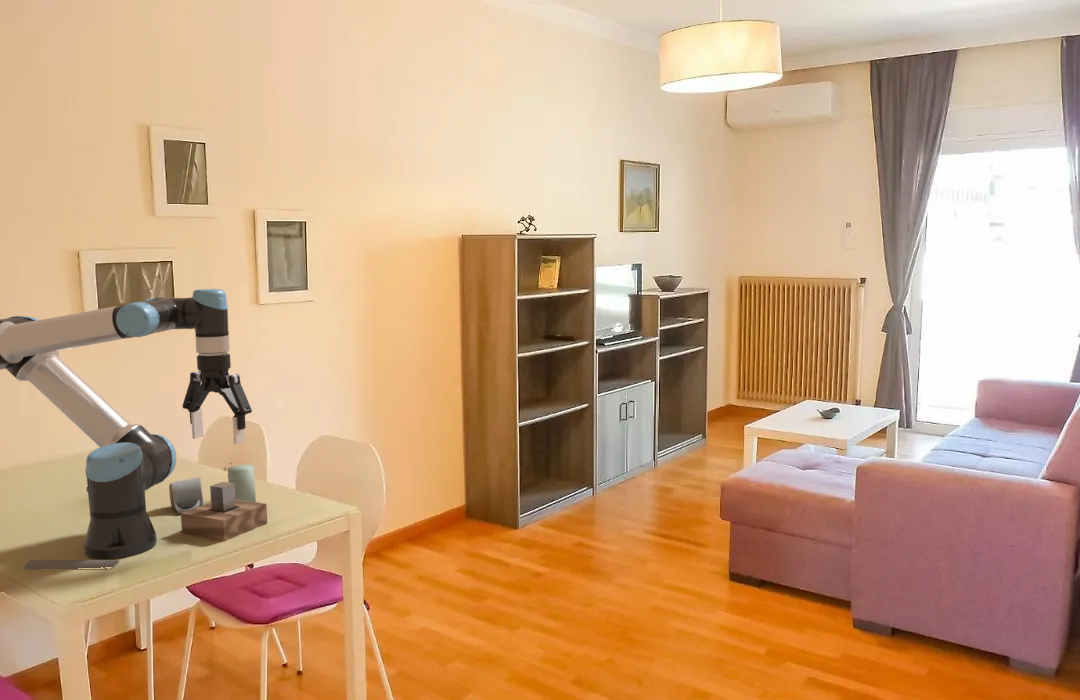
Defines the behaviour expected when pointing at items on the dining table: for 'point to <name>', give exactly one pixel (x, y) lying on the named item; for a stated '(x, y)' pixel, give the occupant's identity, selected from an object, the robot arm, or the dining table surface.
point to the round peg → (243, 481)
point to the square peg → (223, 497)
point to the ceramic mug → (186, 494)
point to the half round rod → (68, 564)
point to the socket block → (224, 520)
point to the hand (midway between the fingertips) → (218, 440)
